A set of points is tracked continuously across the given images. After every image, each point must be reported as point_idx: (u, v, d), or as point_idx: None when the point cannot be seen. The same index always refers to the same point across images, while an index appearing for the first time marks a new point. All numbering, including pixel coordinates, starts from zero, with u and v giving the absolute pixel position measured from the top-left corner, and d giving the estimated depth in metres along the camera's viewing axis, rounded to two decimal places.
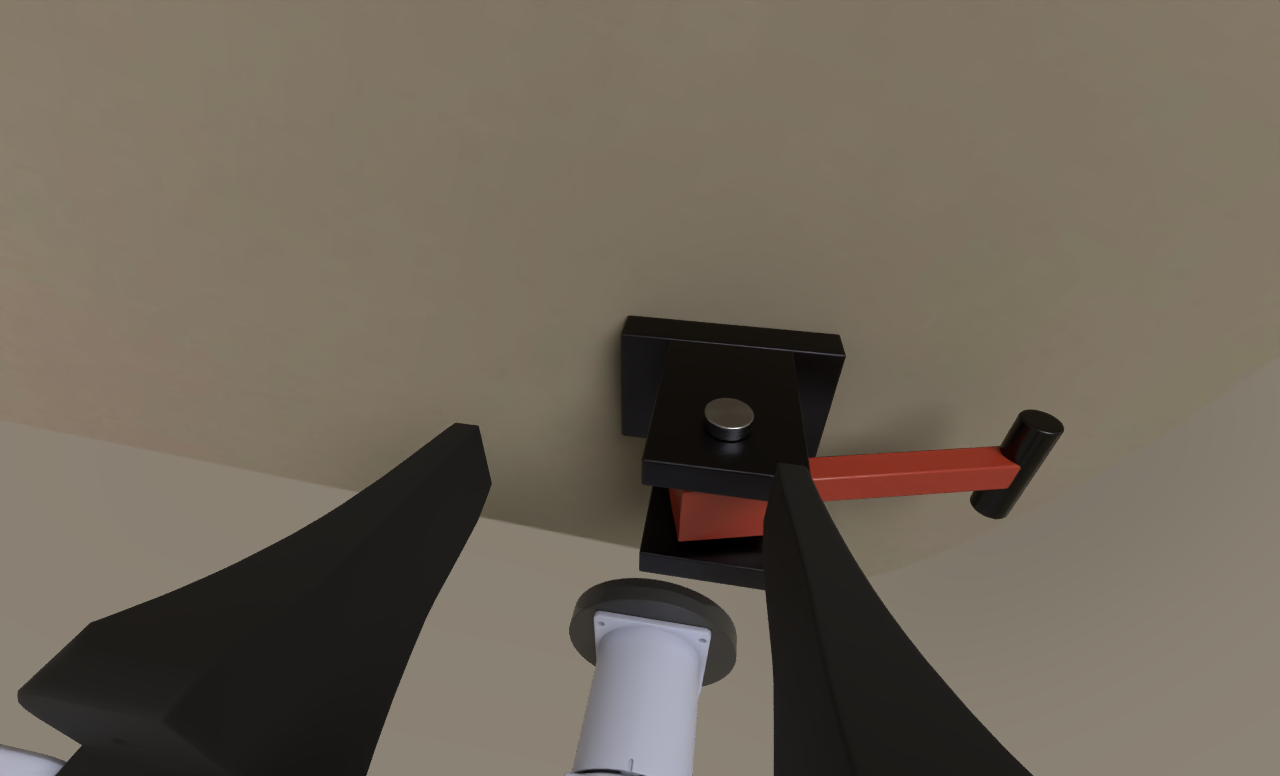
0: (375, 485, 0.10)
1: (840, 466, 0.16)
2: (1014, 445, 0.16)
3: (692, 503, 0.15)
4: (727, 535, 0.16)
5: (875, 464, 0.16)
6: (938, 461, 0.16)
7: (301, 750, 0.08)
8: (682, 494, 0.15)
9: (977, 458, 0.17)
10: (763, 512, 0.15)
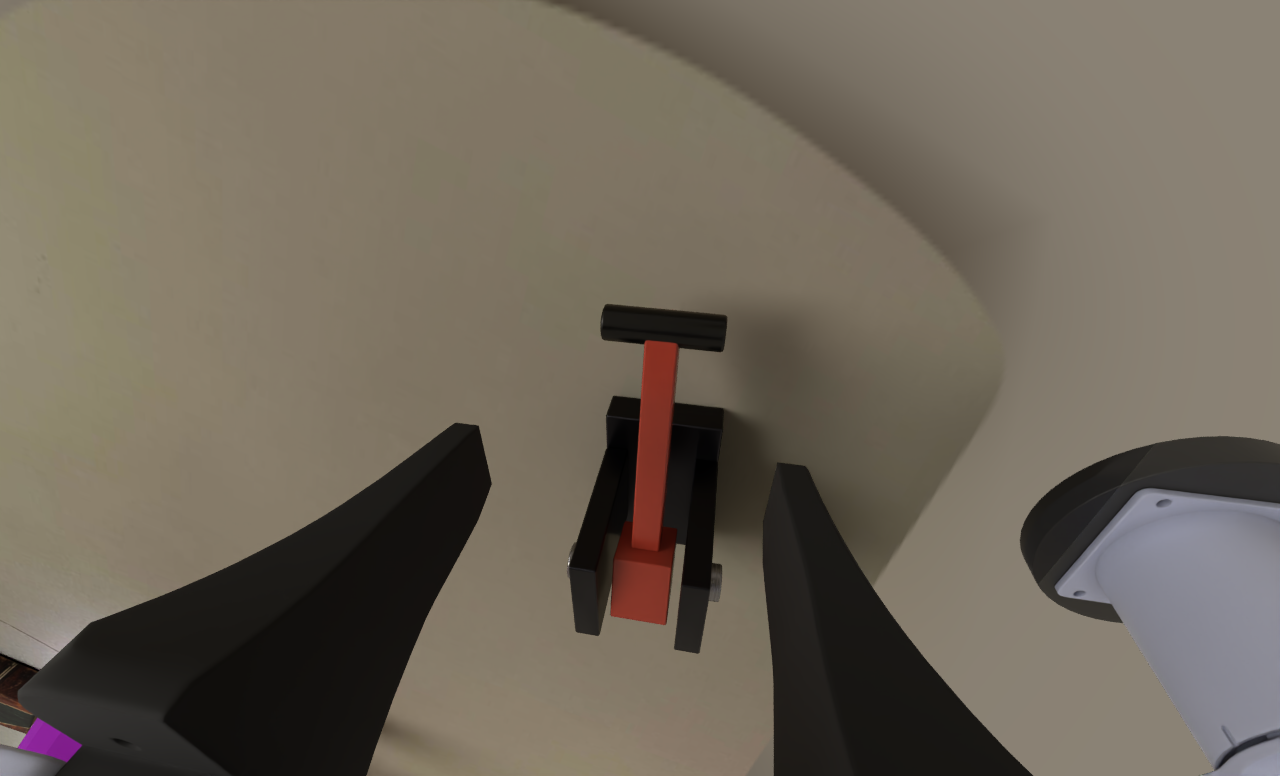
0: (376, 485, 0.10)
1: None
2: (628, 342, 0.17)
3: (621, 612, 0.20)
4: (664, 594, 0.19)
5: None
6: None
7: (301, 750, 0.08)
8: (612, 615, 0.20)
9: None
10: (640, 569, 0.19)
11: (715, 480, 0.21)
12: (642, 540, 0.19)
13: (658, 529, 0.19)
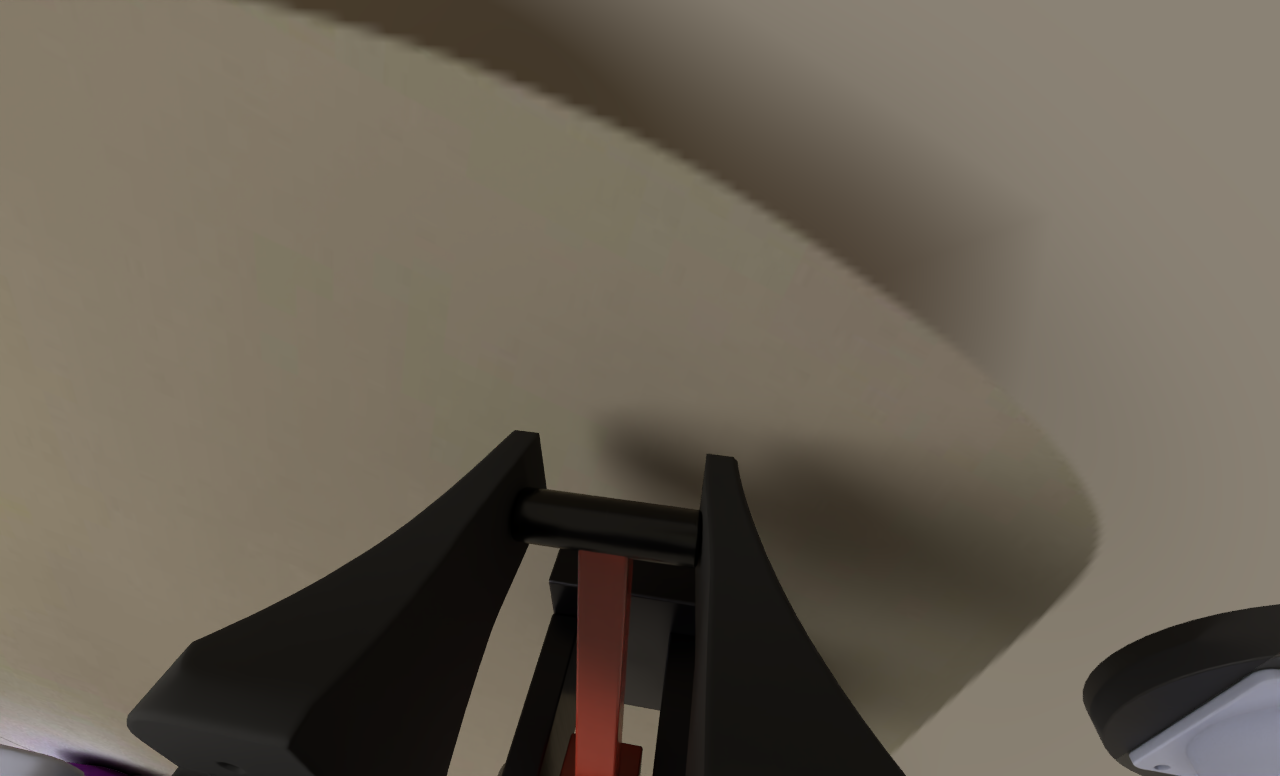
0: (448, 496, 0.10)
1: None
2: None
3: None
4: None
5: None
6: None
7: (393, 770, 0.08)
8: None
9: None
10: None
11: None
12: None
13: None
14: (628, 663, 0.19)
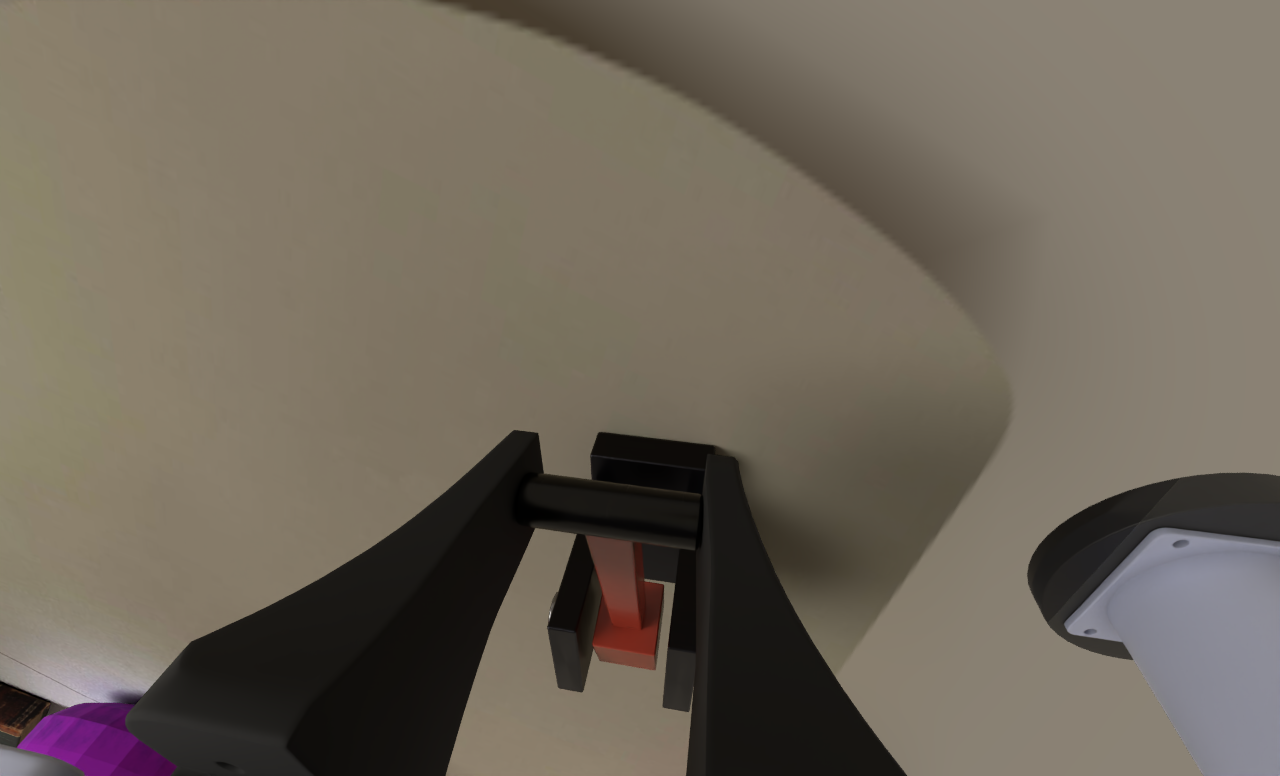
0: (447, 496, 0.10)
1: None
2: None
3: (609, 661, 0.19)
4: (650, 662, 0.18)
5: None
6: None
7: (392, 770, 0.08)
8: (601, 659, 0.20)
9: None
10: (622, 652, 0.18)
11: None
12: (622, 624, 0.17)
13: (637, 622, 0.17)
14: None
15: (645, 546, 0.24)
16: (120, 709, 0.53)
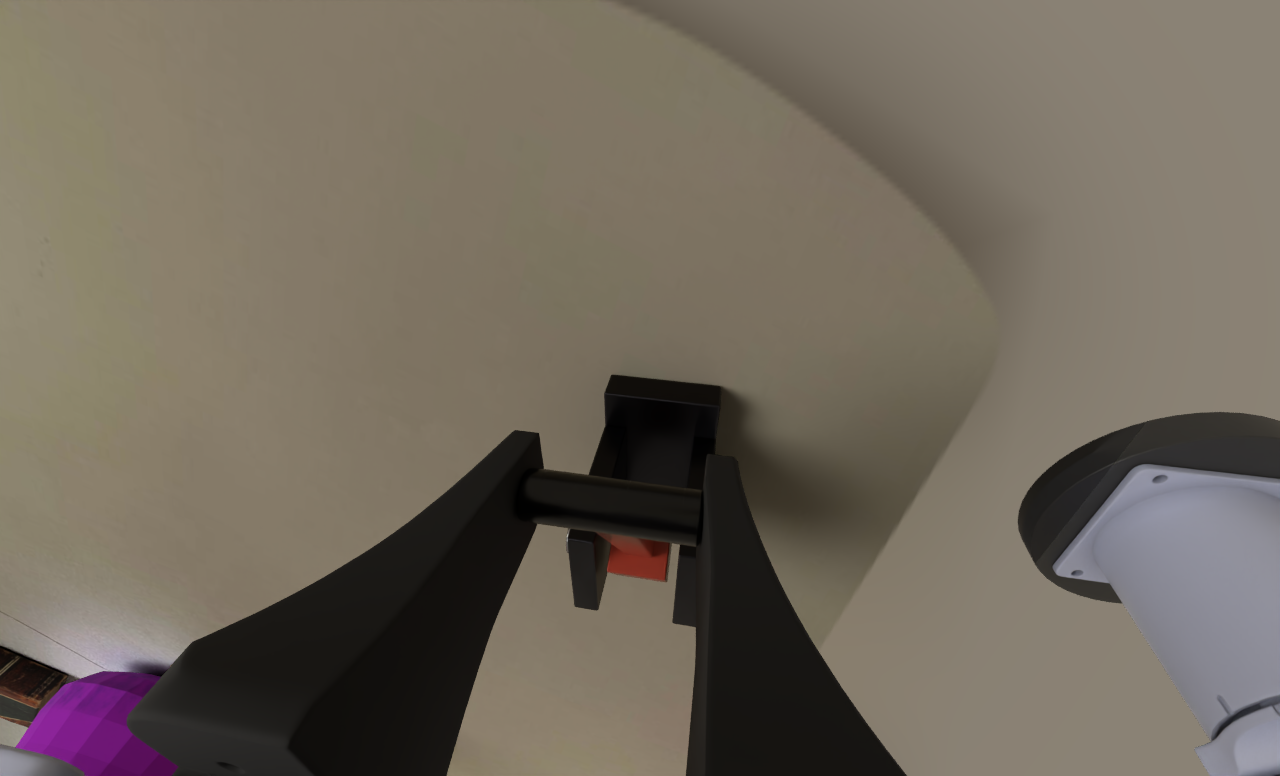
0: (448, 496, 0.10)
1: None
2: None
3: None
4: None
5: None
6: None
7: (393, 770, 0.08)
8: None
9: None
10: (635, 576, 0.19)
11: None
12: (633, 554, 0.19)
13: (648, 556, 0.18)
14: (659, 474, 0.24)
15: None
16: (138, 677, 0.55)
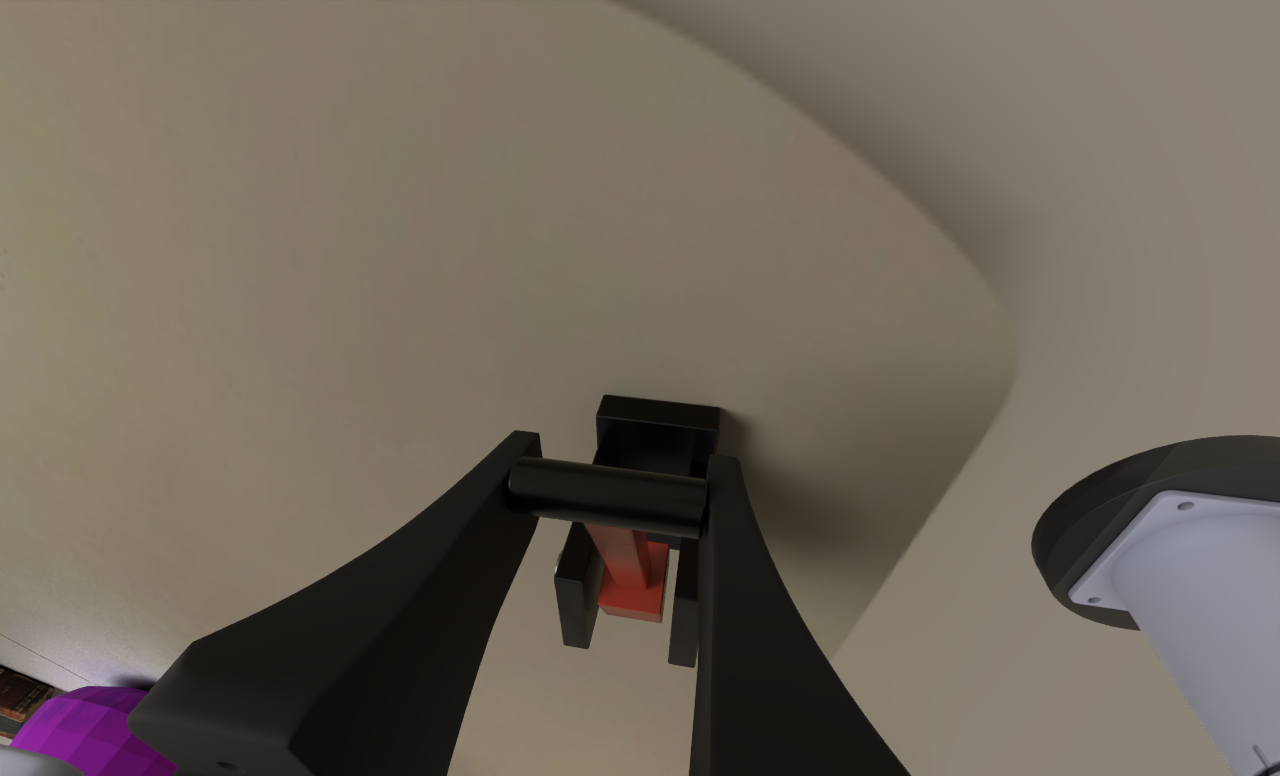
0: (448, 495, 0.10)
1: None
2: None
3: (616, 615, 0.20)
4: (656, 618, 0.18)
5: None
6: None
7: (393, 770, 0.08)
8: (608, 613, 0.20)
9: None
10: (628, 610, 0.18)
11: None
12: (627, 585, 0.17)
13: (642, 585, 0.17)
14: None
15: None
16: (123, 692, 0.53)
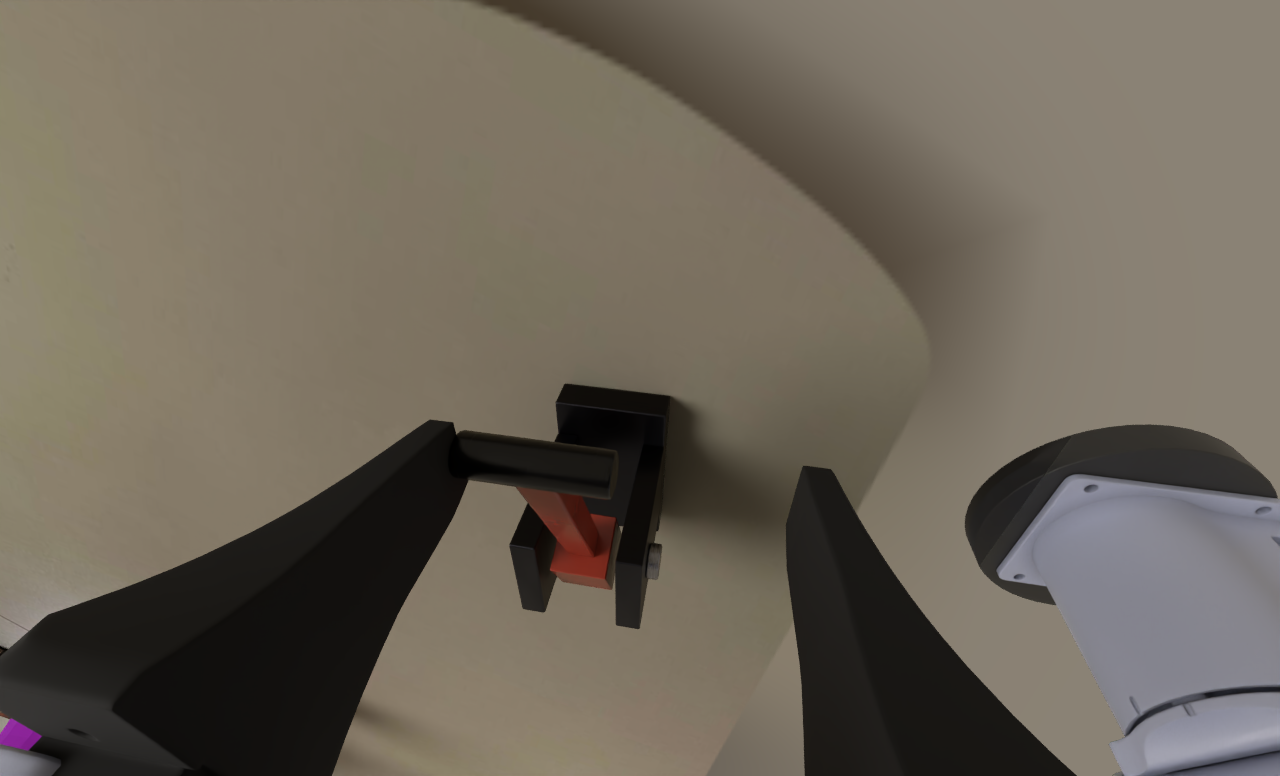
0: (344, 481, 0.10)
1: None
2: None
3: (570, 582, 0.22)
4: (604, 584, 0.21)
5: None
6: None
7: (262, 742, 0.08)
8: (564, 580, 0.22)
9: None
10: (577, 576, 0.20)
11: (659, 464, 0.22)
12: (576, 553, 0.19)
13: (588, 552, 0.19)
14: None
15: None
16: None
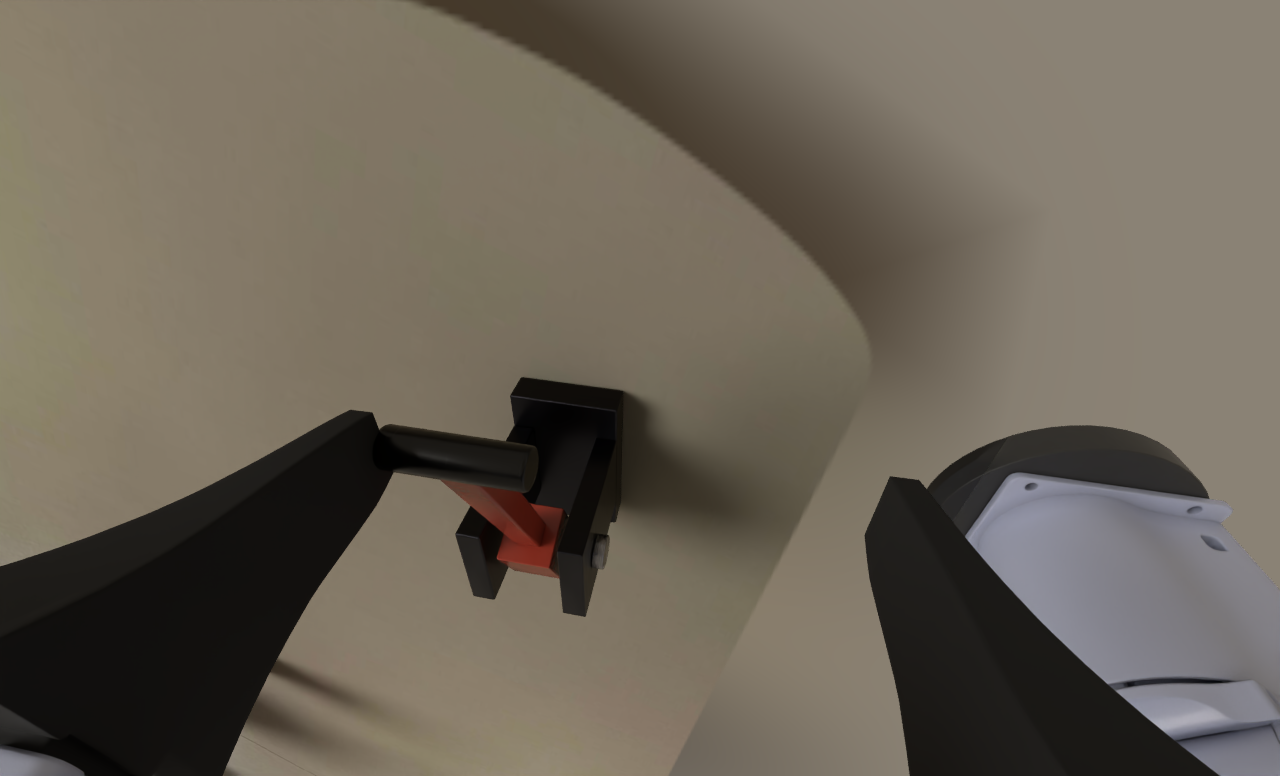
0: (250, 468, 0.10)
1: None
2: None
3: (521, 571, 0.22)
4: (551, 572, 0.21)
5: None
6: None
7: (143, 716, 0.08)
8: (515, 569, 0.23)
9: None
10: (523, 564, 0.20)
11: (610, 457, 0.23)
12: (521, 542, 0.20)
13: (532, 541, 0.19)
14: (569, 471, 0.26)
15: (565, 483, 0.26)
16: None
